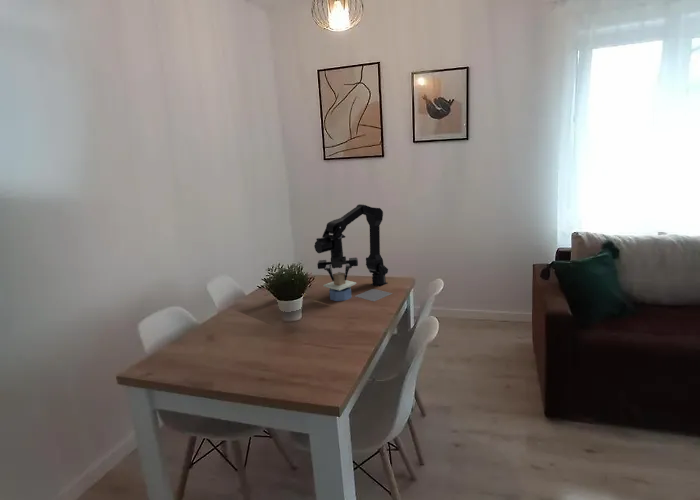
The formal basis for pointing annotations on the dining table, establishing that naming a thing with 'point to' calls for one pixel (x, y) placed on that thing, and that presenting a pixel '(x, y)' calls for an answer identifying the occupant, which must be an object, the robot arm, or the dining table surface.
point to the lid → (339, 282)
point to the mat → (373, 295)
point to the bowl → (340, 294)
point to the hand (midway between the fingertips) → (339, 280)
